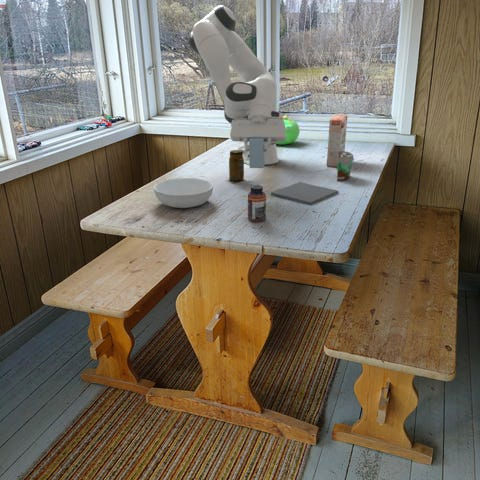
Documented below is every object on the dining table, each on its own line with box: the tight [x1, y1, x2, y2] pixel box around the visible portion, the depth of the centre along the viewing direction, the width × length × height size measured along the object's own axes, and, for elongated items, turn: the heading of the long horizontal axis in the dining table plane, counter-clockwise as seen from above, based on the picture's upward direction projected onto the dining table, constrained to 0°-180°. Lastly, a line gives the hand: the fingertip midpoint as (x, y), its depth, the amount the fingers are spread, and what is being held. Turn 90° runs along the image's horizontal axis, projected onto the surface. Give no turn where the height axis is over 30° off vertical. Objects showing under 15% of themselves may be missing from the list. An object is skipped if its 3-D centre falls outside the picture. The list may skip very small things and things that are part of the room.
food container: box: [336, 151, 355, 182], centre depth 207 cm, size 12×6×10 cm, turn 168°
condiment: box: [225, 149, 249, 184], centre depth 206 cm, size 7×8×12 cm
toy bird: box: [276, 114, 300, 146], centre depth 267 cm, size 18×17×15 cm
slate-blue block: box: [248, 138, 265, 169], centre depth 182 cm, size 5×5×10 cm
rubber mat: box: [270, 181, 339, 206], centre depth 190 cm, size 18×18×1 cm
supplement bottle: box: [247, 184, 267, 223], centre depth 164 cm, size 6×6×11 cm
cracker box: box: [326, 114, 348, 168], centre depth 227 cm, size 14×6×21 cm, turn 160°
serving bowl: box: [153, 177, 214, 209], centre depth 181 cm, size 21×21×7 cm
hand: (256, 150), depth 181 cm, fingers closed on slate-blue block, 5 cm apart
